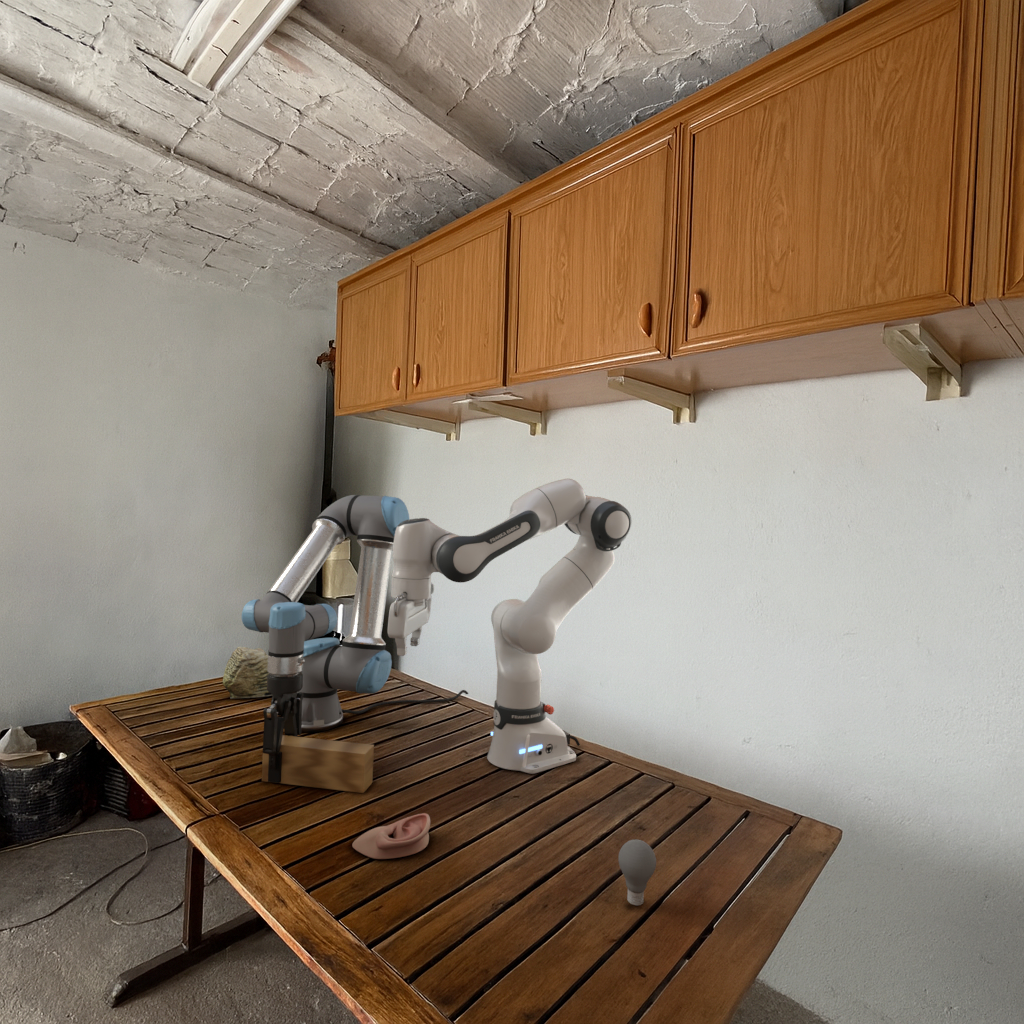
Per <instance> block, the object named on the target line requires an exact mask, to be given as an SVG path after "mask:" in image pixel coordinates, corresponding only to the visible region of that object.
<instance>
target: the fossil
mask: <svg viewBox="0 0 1024 1024" xmlns="http://www.w3.org/2000/svg"><path fill="white" fill-rule="evenodd" d="M267 669H268V653H266V652H265V650H264V649H263V648H260V647H258V648H251V647H247V646H246V647H245V646H238V647H237V648H236V649H235V650H233V651H232V653H231V656H230V657H229V659H228V660H227V663H226V666H225V668H224V671H223V675H222V676H223V677H222V685H223V687H224V688H225V690H226V691H228V693H229V698H230V699H250V698H264V697H272V696H273V695H272V694H271V693H270V692H268V691H267V676H268V675H269V673H268V672H267Z"/></svg>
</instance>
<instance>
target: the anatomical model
mask: <svg viewBox="0 0 1024 1024" xmlns="http://www.w3.org/2000/svg"><path fill="white" fill-rule="evenodd" d="M430 827H431V817H430V815H429V814H428V813H425V812H423V813H422V812H421V813H417V814H414V815H410V816H407V817H404V818H402V819H399V820H397V821H395V822H393V823H391V824H387V825H382V826H377V827H374V828H372V829H369V830H367V831H366V832H364V833H362V834H361V835H359V836H358V837H357V838H355V840H354V841H353V842H352V844H351V845H352V848H353V849H354V850H355V851H356V852H358V853H360V854H362V855H364V856H366V857H368V858H371V859H374V860H387V859H397V858H402V857H407V856H412V855H414V854H417V853H419V852H422V851H423V850H424V849H425V848H426V847H428V845H429V841H430V835H429V830H430Z"/></svg>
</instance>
